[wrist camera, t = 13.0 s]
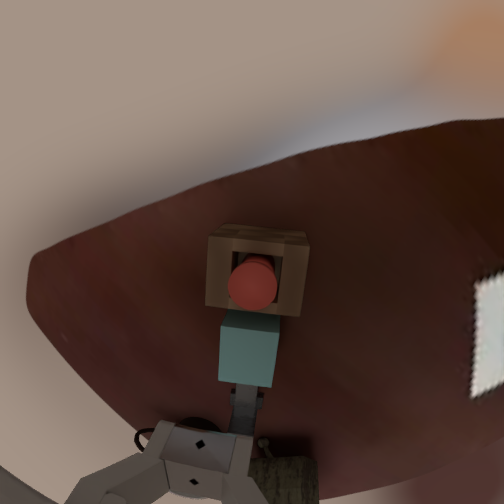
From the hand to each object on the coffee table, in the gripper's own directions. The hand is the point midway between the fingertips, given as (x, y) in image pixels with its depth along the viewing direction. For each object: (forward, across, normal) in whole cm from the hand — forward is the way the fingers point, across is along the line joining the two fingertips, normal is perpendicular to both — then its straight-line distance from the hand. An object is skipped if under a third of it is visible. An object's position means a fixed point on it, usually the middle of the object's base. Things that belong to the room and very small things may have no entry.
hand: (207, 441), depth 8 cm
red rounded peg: (+20, 0, 0) cm, 20 cm away
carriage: (+22, 0, +7) cm, 24 cm away
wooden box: (+24, 0, 0) cm, 24 cm away
